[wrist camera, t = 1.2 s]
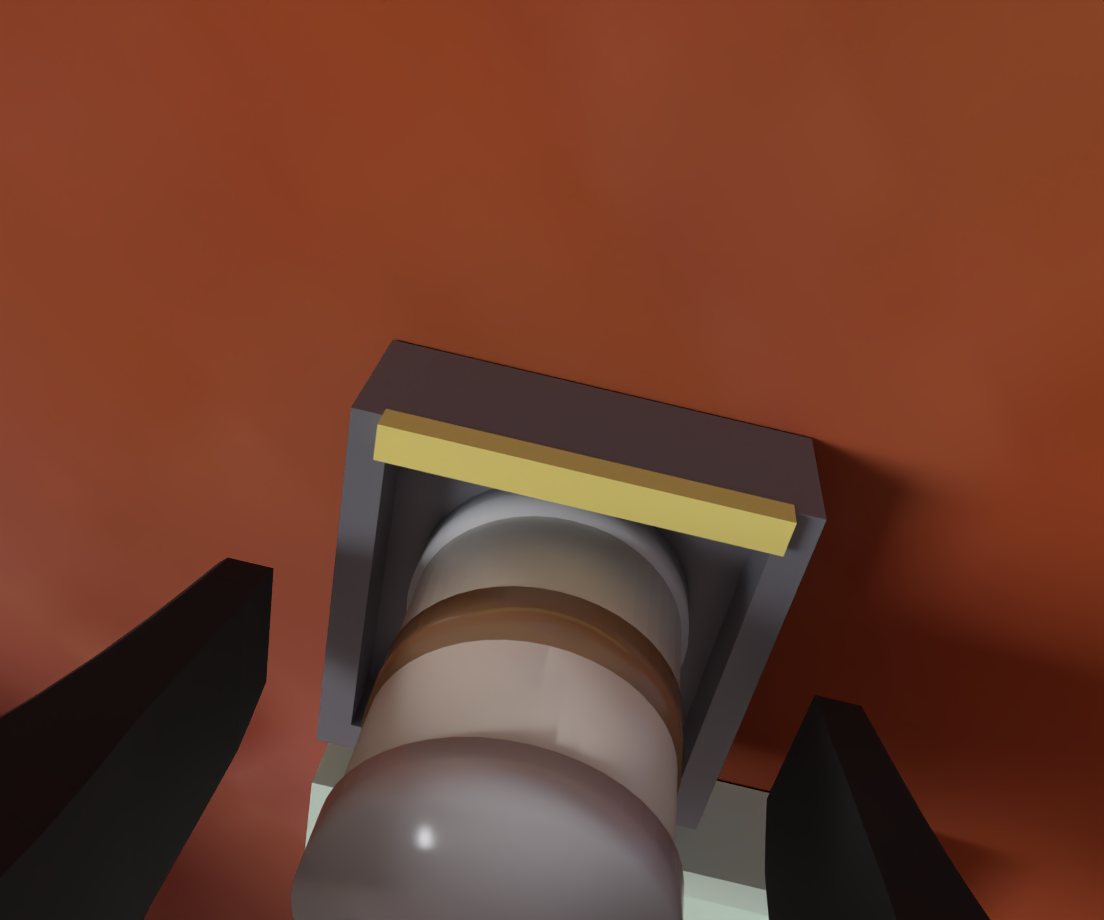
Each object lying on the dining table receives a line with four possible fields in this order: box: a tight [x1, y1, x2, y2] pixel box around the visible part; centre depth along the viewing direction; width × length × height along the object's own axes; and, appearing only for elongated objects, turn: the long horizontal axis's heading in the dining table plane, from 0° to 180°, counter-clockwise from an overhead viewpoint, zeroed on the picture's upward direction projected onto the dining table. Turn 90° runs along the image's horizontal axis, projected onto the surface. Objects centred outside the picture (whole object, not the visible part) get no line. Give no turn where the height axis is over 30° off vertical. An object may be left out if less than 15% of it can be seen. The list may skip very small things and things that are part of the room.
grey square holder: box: [317, 340, 827, 830], centre depth 15 cm, size 6×6×2 cm
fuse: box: [291, 488, 689, 920], centre depth 13 cm, size 4×4×6 cm
